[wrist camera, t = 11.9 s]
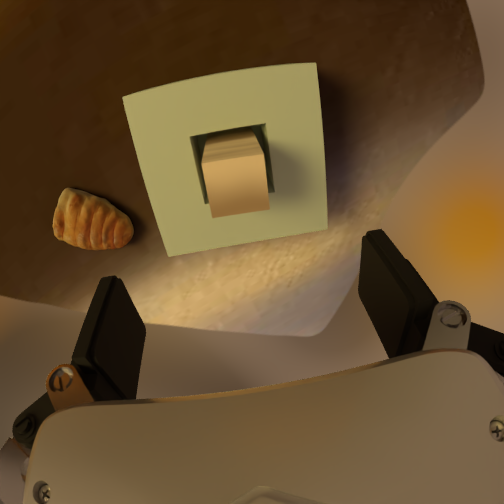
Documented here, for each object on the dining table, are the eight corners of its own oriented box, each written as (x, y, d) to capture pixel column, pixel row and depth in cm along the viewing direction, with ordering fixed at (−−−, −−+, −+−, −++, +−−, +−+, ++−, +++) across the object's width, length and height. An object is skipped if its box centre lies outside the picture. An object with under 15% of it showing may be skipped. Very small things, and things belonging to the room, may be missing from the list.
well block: (140, 90, 26) (122, 97, 21) (298, 63, 26) (315, 62, 21) (175, 225, 34) (168, 256, 29) (311, 202, 34) (327, 229, 29)
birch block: (207, 132, 28) (201, 163, 19) (250, 125, 28) (263, 154, 19) (214, 171, 30) (212, 218, 22) (255, 165, 30) (269, 209, 22)
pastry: (141, 202, 32) (132, 219, 29) (130, 252, 36) (123, 272, 32) (64, 182, 30) (50, 196, 27) (61, 232, 33) (48, 249, 30)
